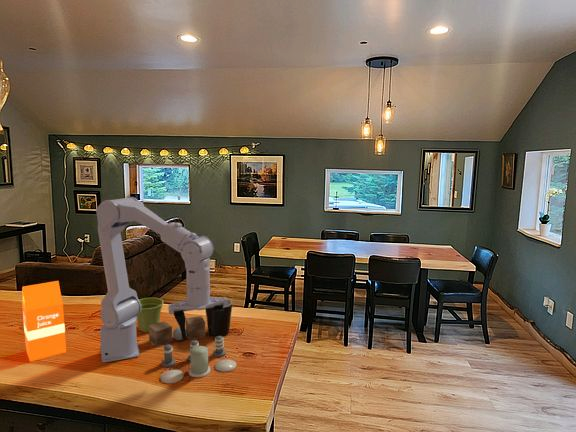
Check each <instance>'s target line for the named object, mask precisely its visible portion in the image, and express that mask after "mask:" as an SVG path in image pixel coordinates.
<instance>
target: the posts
mask: <svg viewBox="0 0 576 432" xmlns="http://www.w3.org/2000/svg"><path fill="white" fill-rule="evenodd" d="M224 337H225V336H224ZM224 337H222V336H217V337H214V348H215V349H214V350H213V351H212V355H213V357H215V358H223V357H225V356H226V354H227V351H226V349H224V347H225V346H224V343H225V342H224V340H225V339H224ZM163 346H164V347H163V350H162V351H163V355H164V356H163V357H164V358H163V359H162V360H161V367H163V368H170V367H174V366H175V365H176V358H173V351H174V350H173V349H174V348H173V345H172V344H164V345H163ZM197 346H200V344H199V340H197V339H192V340H190V342H189V352H190V351H191V349H192V348H194V347H197ZM187 361H188V362H190V363H191V354H189V355H188V356H187Z"/></svg>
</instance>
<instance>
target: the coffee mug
mask: <svg viewBox="0 0 576 432" xmlns="http://www.w3.org/2000/svg"><path fill="white" fill-rule="evenodd" d="M226 299H227V307H223V308H224V314H223V315H222V317H221V319H220V321H219V324H218V327H217V331H216V335H213V334H212V330H211V324H212V315H211V308H206V309H205V314H206V315H205V316H206V324H207V331H208V335H209V336H210V337H213V338H216V337H217V336H222V337H226V336H228V335H229V334H230V327H231V320H232V319H231V318H232V311H233V300H232V299H229V298H227V297H226Z"/></svg>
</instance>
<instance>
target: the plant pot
mask: <svg viewBox="0 0 576 432" xmlns="http://www.w3.org/2000/svg"><path fill="white" fill-rule="evenodd" d="M139 301H140V303H141V312H140V314H139V315H137V320H136V323H137V326H138V330H139V331H140V332H143V333H149V325H153V324H156V323H159V322H160V319H161V312H162V308H163V305H164V300H163V299H162V298H159V297H144V298H140V299H139Z"/></svg>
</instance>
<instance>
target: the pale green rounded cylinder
mask: <svg viewBox="0 0 576 432" xmlns="http://www.w3.org/2000/svg"><path fill="white" fill-rule="evenodd" d="M189 353H190V355H191V362H190V368H191V372H192V373H193V374H203V373H205V372H207V371H208V366H209V348H208V347H207V346H205V345H204V346H203V345H199V346H197V347H194V348H192V349H191V351H190V350H189Z"/></svg>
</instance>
